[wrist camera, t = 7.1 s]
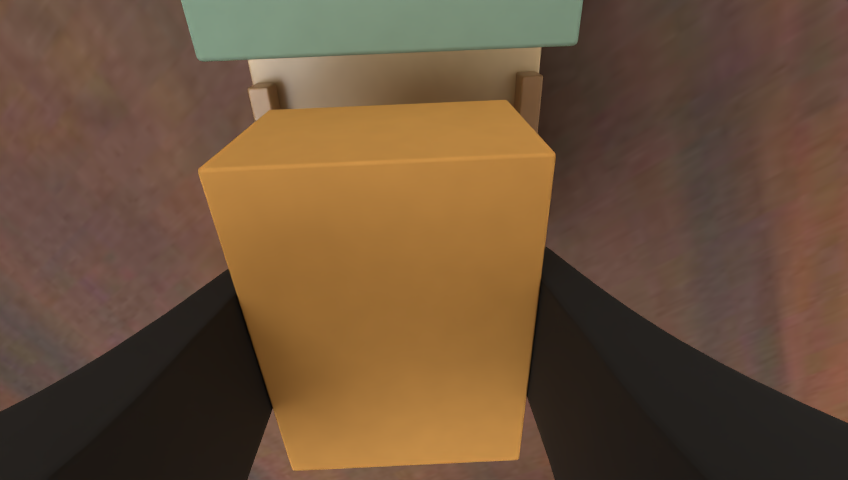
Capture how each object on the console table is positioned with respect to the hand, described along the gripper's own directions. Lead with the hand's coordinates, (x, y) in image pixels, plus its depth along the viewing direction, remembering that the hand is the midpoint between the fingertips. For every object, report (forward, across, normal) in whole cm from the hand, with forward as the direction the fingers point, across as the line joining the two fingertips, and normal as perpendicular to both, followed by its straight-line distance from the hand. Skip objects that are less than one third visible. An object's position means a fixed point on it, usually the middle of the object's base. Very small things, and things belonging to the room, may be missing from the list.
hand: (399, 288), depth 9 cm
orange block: (+2, 0, 0) cm, 2 cm away
